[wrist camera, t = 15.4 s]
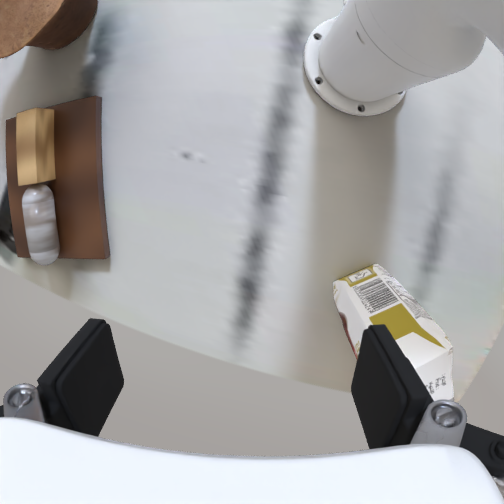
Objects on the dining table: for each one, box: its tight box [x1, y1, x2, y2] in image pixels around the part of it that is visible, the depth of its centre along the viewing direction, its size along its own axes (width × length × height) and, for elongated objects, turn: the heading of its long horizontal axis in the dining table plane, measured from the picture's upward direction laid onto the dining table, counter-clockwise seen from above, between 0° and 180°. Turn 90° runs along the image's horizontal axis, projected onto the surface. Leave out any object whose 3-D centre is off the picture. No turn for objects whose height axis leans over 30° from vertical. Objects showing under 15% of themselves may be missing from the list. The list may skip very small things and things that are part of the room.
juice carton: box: [333, 264, 454, 401], centre depth 30 cm, size 8×9×19 cm
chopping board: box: [6, 96, 110, 259], centre depth 34 cm, size 20×16×2 cm
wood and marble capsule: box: [16, 108, 60, 265], centre depth 31 cm, size 20×4×4 cm, turn 0°
